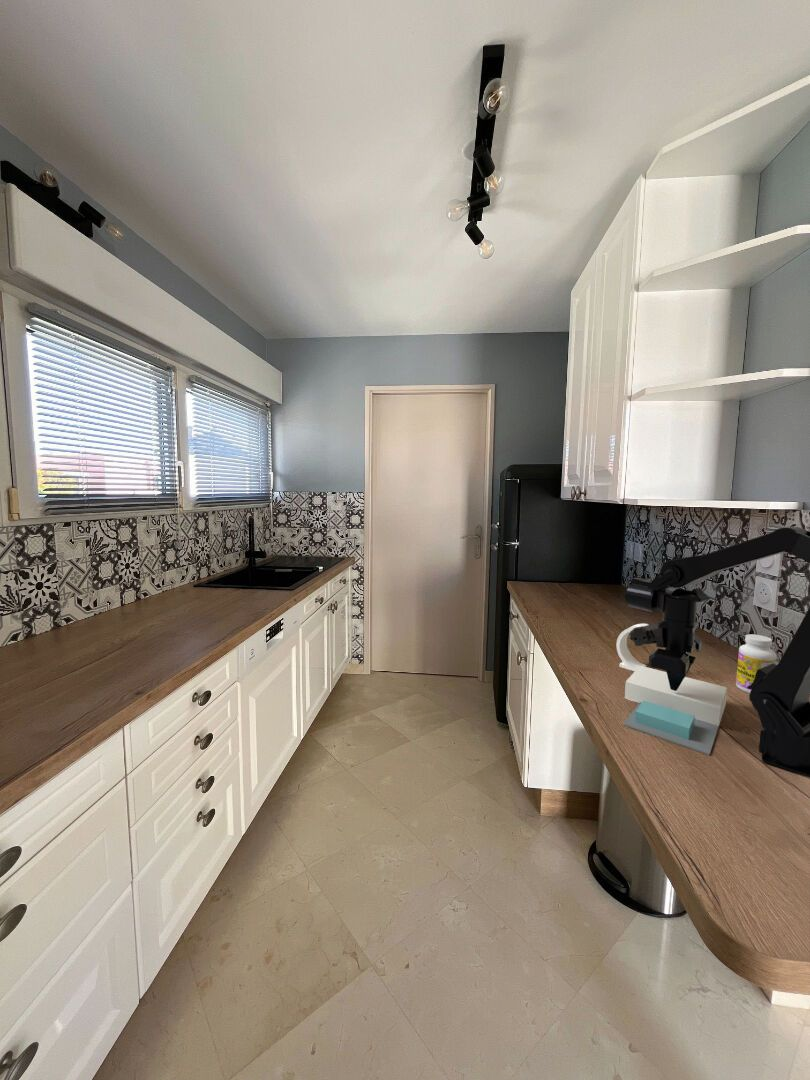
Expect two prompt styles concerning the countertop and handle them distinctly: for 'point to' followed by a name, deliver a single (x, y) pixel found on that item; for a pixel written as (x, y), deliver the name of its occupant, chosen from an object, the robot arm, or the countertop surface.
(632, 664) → the headphone stand
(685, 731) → the teal rectangular block
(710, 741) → the mat
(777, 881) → the countertop surface
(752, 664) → the supplement bottle
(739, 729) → the countertop surface
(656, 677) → the tray
